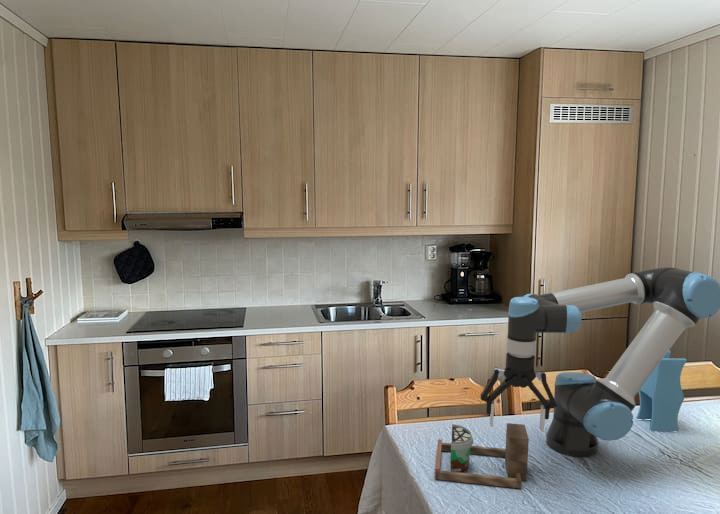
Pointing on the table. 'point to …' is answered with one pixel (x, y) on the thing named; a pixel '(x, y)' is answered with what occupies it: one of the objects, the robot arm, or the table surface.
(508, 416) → the table surface
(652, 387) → the blue wavy channel stand
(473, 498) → the table surface
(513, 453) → the walnut bed frame
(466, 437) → the food container
